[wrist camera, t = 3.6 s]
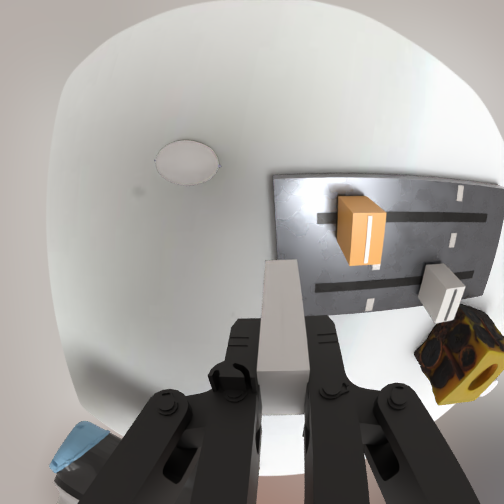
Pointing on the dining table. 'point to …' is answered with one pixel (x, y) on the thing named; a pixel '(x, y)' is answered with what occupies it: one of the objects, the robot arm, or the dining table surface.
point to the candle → (462, 356)
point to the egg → (187, 162)
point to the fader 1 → (360, 230)
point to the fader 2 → (440, 292)
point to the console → (386, 237)
